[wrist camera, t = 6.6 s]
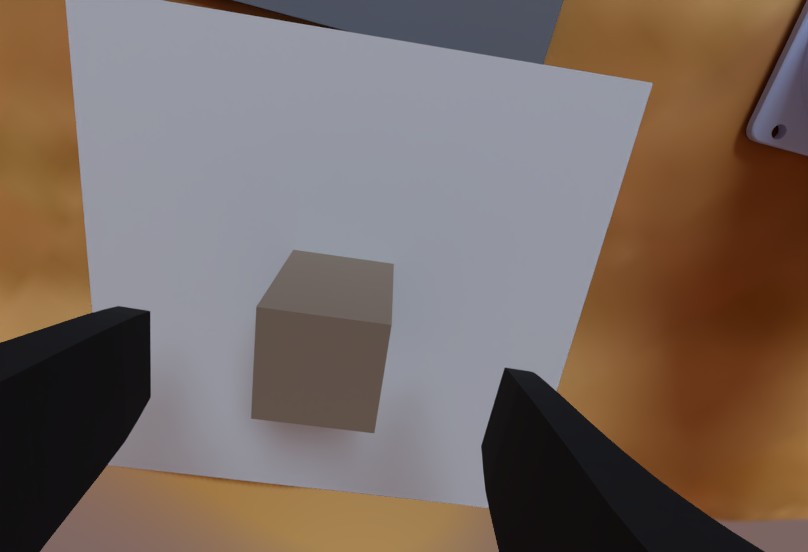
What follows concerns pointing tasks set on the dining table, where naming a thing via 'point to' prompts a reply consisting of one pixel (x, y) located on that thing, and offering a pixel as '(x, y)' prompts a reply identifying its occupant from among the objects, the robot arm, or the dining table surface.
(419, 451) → the lid
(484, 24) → the mat
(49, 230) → the dining table surface
